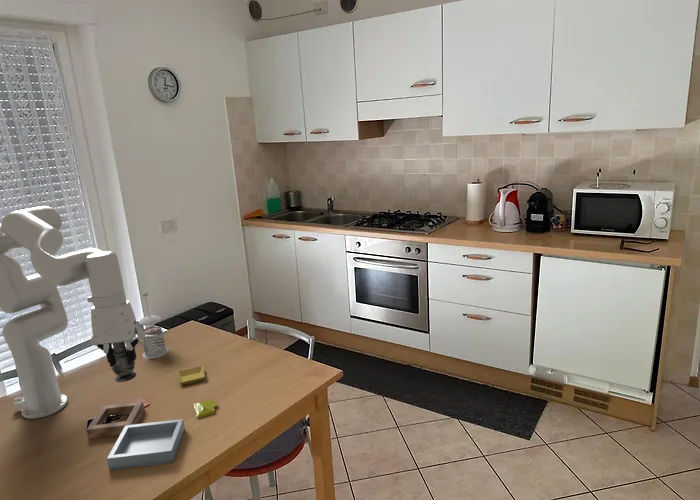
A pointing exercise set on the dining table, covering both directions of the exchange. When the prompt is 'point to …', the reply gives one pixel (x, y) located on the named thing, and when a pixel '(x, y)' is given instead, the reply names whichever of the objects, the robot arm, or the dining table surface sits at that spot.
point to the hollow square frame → (114, 429)
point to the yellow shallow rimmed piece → (191, 375)
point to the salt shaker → (122, 363)
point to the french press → (152, 337)
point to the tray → (146, 444)
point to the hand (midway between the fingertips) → (123, 362)
